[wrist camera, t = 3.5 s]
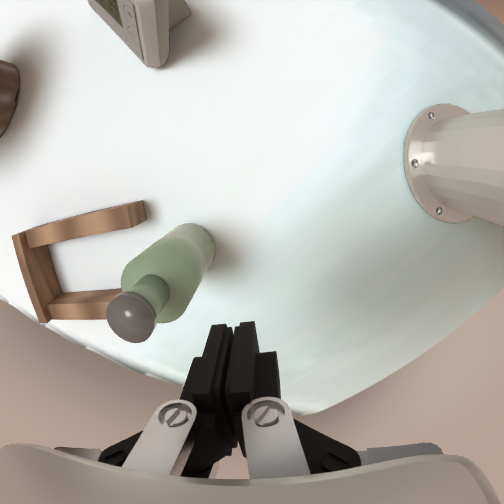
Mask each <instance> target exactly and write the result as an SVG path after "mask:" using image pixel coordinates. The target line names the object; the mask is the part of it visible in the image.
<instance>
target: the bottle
mask: <svg viewBox="0 0 504 504" xmlns="http://www.w3.org/2000/svg"><path fill="white" fill-rule="evenodd" d="M214 256H215V244H214V241H213V238H212V237H211V235H210V234H209V233H208V231H207V230H205V229H204V228H203V227H201V226H199V225H196V224H182V225H180V226H178V227H176V228H175V229H173V230H172V231H170V232H169V233H168V234H166V235H165V236H164V237H162V238H161V239H160V240H158V241H157V242H155V243H154V244H153V245H151V246H150V247H149V248H147V249H146V250H145V251H143V252H142V253H141V254H140V255H138V256H137V257H136V258H134V259H133V260H132V261H130V262H129V263H128V264H127V266H126V267H125V269H124V271H123V274H122V278H121V288H122V293H120V294H118V295H117V296H116V297H115V298H114V299H113V300H112V301H111V302H110V303H109V304H108V306H107V310H106V317H107V321H108V323H109V325H110V327H111V329H112V330H113V331H114V332H115V333H116V334H117V335H118V336H119V337H120V338H122V339H124V340H126V341H128V342H132V343H140V342H144V341H145V340H147V339H148V338H149V337H150V335H151V334H152V332H153V330H154V329H155V327H156V324H157V323H168V322H172V321H174V320H176V319H178V318H179V317H180V316H181V315H182V314H183V313H184V311H185V310H186V308H187V306H188V304H189V303H190V301H191V299H192V297H193V295H194V293H195V292H196V290H197V288H198V286H199V284H200V283H201V281H202V279H203V277H204V275H205V274H206V272H207V270H208V268H209V266H210V265H211V263H212V261H213V259H214Z"/></svg>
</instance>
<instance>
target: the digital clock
mask: <svg viewBox="0 0 504 504" xmlns="http://www.w3.org/2000/svg"><path fill="white" fill-rule="evenodd" d="M88 2H89V5H90V6H91V8H92V9H93V10H94V11H95V12H96V13H97V14H98V15H99V16H100V17H101V18H102V19H103V20H104V21H105V22H106V23H107V24H108V25H109V26H110V28H111V29H112V30H113V31H114V32H115V33H116V34H117V35H118V36H119V37H120V38H121V39H122V40H123V41H124V43H125V44H126V45H127V46H128V47H129V48H130V49H131V50H132V51H133V52H134V53H135V55H136V56H137V57H138V58H139V59H140V60H141V61H142V62H143V63H144V64H145V65H146V66H147V67H156V68H159V67H161V66H162V65H164V63H165V62H166V60H167V58H168V55H169V30H171V29H172V28H173V27H174V26H176V25H177V24H179V23H180V22H181V21H183V20H184V19H185V18H187V17H188V16H189V15H190V14H191V12H190V10H189V8H188V6H187V5H186V3H185V1H184V0H88Z"/></svg>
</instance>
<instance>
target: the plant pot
mask: <svg viewBox="0 0 504 504" xmlns="http://www.w3.org/2000/svg"><path fill="white" fill-rule="evenodd" d="M18 90H19V75H18V71H17V69H16V67H15V66H14V65H13V64H11V63H8V62H5V61H2V60H0V136H1V135H2V134H3V133H4V131H5V130H6V128H7V126H8V124H9V122H10V120H11V118H12V115H13V113H14V110H15V106H16V102H15V97H16V94H17V92H18Z"/></svg>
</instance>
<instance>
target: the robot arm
mask: <svg viewBox="0 0 504 504" xmlns="http://www.w3.org/2000/svg"><path fill="white" fill-rule="evenodd" d="M428 116H429V117H428ZM411 161H412V163H413V164H412V165H411ZM404 167H405V172H406V177H407V181H408V183H409V186H410V189H411V191H412V193H413V195H414V197H415V199H416V200H417V202H418V203H419V204H420V205H421V207H422V208H423V209H424V210H425V211H426V212H427V213H429V214H430V215H431V216H433V217H435V218H437V219H439V220H441V221H444V222H448V223H462V222H465V221H467V220H470V219H471V218H473V217H474V216H476V217H478V218H481V219H484V220H487V221H489V222H492V223H495V224H497V225H500V226H503V227H504V109H501V110H494V111H486V112H479V113H473V114H470V113H469V112H467V111H466V110H464V109H463V108H461V107H459V106H456V105H452V104H437V105H433V106H431V107H428V108H426V109H424V110H423V111H422V112H421V113H419V114H418V115H417V116H416V118H415V119H414V120H413V122H412V123H411V126H410V128H409V130H408V132H407V136H406V140H405V145H404ZM238 442H239V444H240V447H241V451H242V454H243V456H244V457H246V459H247V463H248V470H249V477H250V479H215V476H216V474H217V470H218V468H219V460H220V459H222V458H223V457H225V456H231V453H232V448H236V447H237V444H238ZM0 504H501V502H500V500H499V498H498V496H497V494H496V492H495V490H494V489H493V487H492V485H491V483H490V481H489V480H488V479H487V477H486V476H485V474H484V473H483V472H482V470H481V469H480V468H479V467H478V466H477V465H476V464H475V463H474V462H473V461H471V460H469V459H468V458H465V457H461V456H457V455H448V454H443V452H442V450H441V449H440V448H439V447H438V446H437V445H435V444H432V443H418V444H410V445H402V446H392V447H379V448H367V451H355V450H354V449H352V448H350V447H349V446H347V445H344V444H342V443H340V442H338V441H336V440H334V439H332V438H330V437H328V436H326V435H324V434H322V433H320V432H318V431H316V430H314V429H312V428H310V427H308V426H306V425H304V424H302V423H301V422H299V421H297V420H295V419H293V417H292V414H291V411H290V408H289V406H288V404H287V403H286V402H284V401H283V400H281V393H280V379H279V369H278V361H277V353H276V351H274V352H264V353H260V352H259V346H258V340H257V334H256V327H255V322H254V321H252V322H241V323H240V326H237V327H235V330H234V335H233V330H232V327H227V325H226V324H219V325H212V326H211V329H210V332H209V336H208V339H207V342H206V345H205V349H204V352H203V355H202V357H195V358H194V359H193V361H192V364H191V367H190V370H189V373H188V376H187V379H186V382H185V385H184V388H183V391H182V394H181V397H180V400H172V401H169V402H166V403H164V404H163V405H161V406H160V407H159V408H158V409H157V410H156V411H155V413H154V414H153V416H152V418H151V419H150V421H149V423H148V424H147V426H146V428H145V429H144V430H143V431H141V432H139V433H137V434H135V435H133V436H131V437H129V438H127V439H125V440H123V441H121V442H119V443H117V444H115V445H113V446H110V447H108V448H107V449H105V450H104V451H103V452H102V451H101V450H100V449H84V448H68V447H57V448H54V449H52V448H49V447H44V446H40V445H33V444H10V445H6V446H4V447H2V448H1V449H0Z"/></svg>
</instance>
